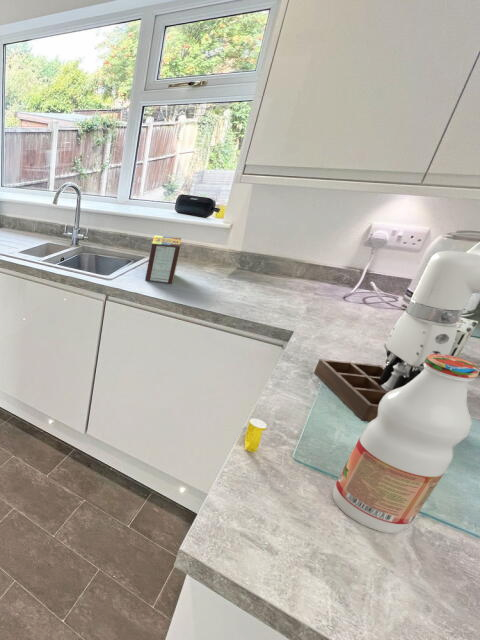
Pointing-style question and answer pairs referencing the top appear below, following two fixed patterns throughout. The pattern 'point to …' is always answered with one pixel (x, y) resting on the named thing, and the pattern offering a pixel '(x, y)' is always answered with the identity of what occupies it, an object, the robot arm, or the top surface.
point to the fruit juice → (407, 446)
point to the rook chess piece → (394, 376)
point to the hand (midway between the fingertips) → (394, 385)
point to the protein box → (163, 259)
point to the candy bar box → (461, 335)
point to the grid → (354, 385)
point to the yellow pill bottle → (254, 434)
